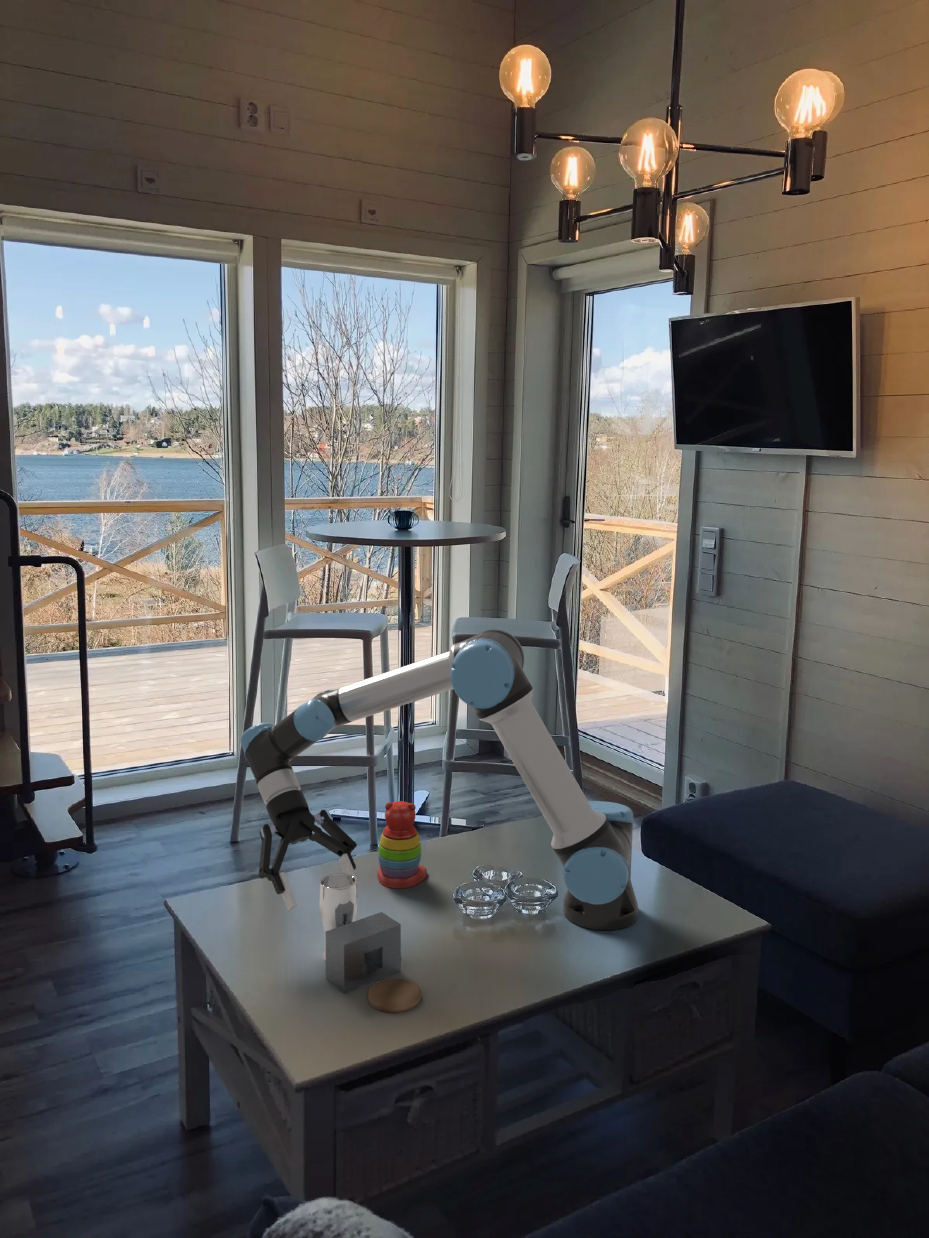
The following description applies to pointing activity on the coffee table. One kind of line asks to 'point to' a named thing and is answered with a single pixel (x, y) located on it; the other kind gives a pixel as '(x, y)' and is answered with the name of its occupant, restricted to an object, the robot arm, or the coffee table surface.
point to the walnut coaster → (394, 995)
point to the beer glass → (337, 901)
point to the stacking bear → (400, 848)
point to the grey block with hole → (363, 951)
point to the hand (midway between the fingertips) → (324, 897)
